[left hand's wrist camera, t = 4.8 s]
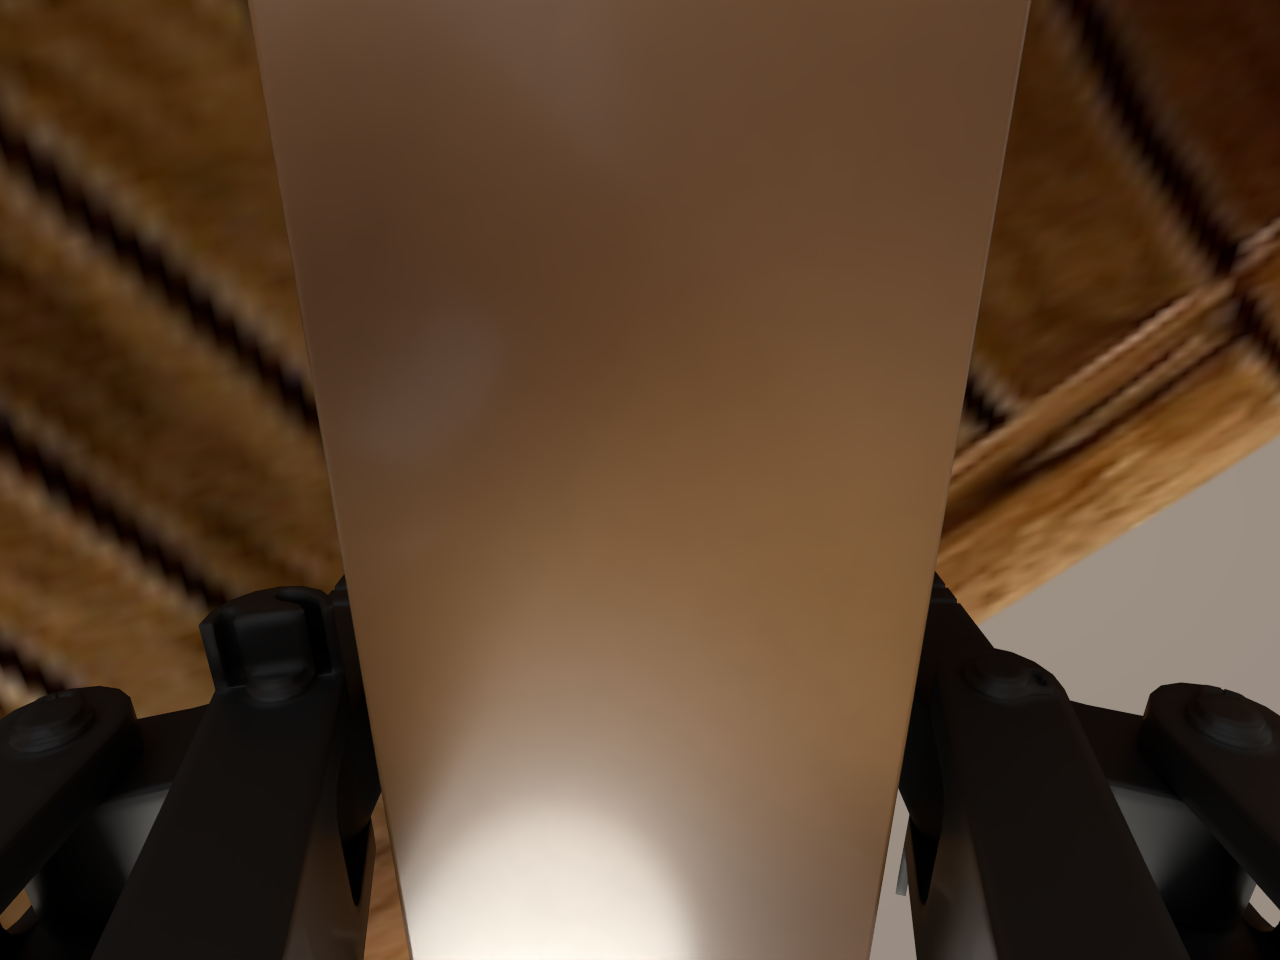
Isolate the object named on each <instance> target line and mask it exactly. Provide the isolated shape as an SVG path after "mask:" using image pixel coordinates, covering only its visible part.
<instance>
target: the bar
mask: <svg viewBox="0 0 1280 960" xmlns="http://www.w3.org/2000/svg"><path fill="white" fill-rule="evenodd" d="M1030 4H1031V0H248V5H249V11H250V17H251V23H252V29H253V35H254V41H255V47H256V53H257V59H258V64H259V70H260V76H261V82H262V88H263V94H264V100H265V106H266V112H267V118H268V123H269V129H270V135H271V141H272V147H273V153H274V159H275V165H276V171H277V177H278V183H279V188H280V194H281V200H282V206H283V212H284V218H285V224H286V230H287V236H288V242H289V248H290V253H291V259H292V265H293V271H294V277H295V283H296V289H297V295H298V301H299V307H300V313H301V318H302V324H303V330H304V336H305V342H306V348H307V354H308V360H309V366H310V372H311V378H312V383H313V389H314V395H315V401H316V407H317V413H318V419H319V425H320V431H321V437H322V443H323V448H324V454H325V460H326V466H327V472H328V478H329V484H330V490H331V496H332V502H333V508H334V513H335V519H336V525H337V531H338V537H339V543H340V549H341V555H342V561H343V567H344V573H345V578H346V584H347V590H348V596H349V602H350V608H351V614H352V620H353V626H354V632H355V638H356V643H357V649H358V655H359V661H360V667H361V673H362V679H363V685H364V691H365V697H366V703H367V708H368V714H369V720H370V726H371V732H372V738H373V744H374V750H375V756H376V762H377V767H378V773H379V779H380V785H381V791H382V797H383V803H384V809H385V815H386V821H387V827H388V832H389V838H390V844H391V850H392V856H393V862H394V868H395V874H396V880H397V886H398V892H399V897H400V903H401V909H402V915H403V921H404V927H405V933H406V939H407V945H408V951H409V957H410V960H869V957H870V952H871V946H872V940H873V934H874V928H875V922H876V916H877V910H878V904H879V898H880V892H881V886H882V881H883V875H884V869H885V863H886V857H887V851H888V845H889V839H890V833H891V827H892V821H893V815H894V809H895V803H896V797H897V792H898V786H899V780H900V774H901V768H902V762H903V756H904V750H905V744H906V738H907V732H908V727H909V721H910V715H911V709H912V703H913V697H914V691H915V685H916V679H917V673H918V667H919V661H920V655H921V650H922V644H923V638H924V632H925V626H926V620H927V614H928V608H929V602H930V596H931V590H932V584H933V579H934V573H935V567H936V561H937V555H938V549H939V543H940V537H941V531H942V525H943V519H944V513H945V507H946V502H947V496H948V490H949V484H950V478H951V472H952V466H953V460H954V454H955V448H956V442H957V436H958V430H959V425H960V419H961V413H962V407H963V401H964V395H965V389H966V383H967V377H968V371H969V365H970V359H971V353H972V348H973V342H974V336H975V330H976V324H977V318H978V312H979V306H980V300H981V294H982V288H983V282H984V276H985V271H986V265H987V259H988V253H989V247H990V241H991V235H992V229H993V223H994V217H995V211H996V205H997V199H998V194H999V188H1000V182H1001V176H1002V170H1003V164H1004V158H1005V152H1006V146H1007V140H1008V134H1009V128H1010V122H1011V117H1012V111H1013V105H1014V99H1015V93H1016V87H1017V81H1018V75H1019V69H1020V63H1021V57H1022V51H1023V46H1024V40H1025V34H1026V28H1027V22H1028V16H1029V10H1030Z"/></svg>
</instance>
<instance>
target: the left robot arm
mask: <svg viewBox="0 0 1280 960" xmlns="http://www.w3.org/2000/svg"><path fill="white" fill-rule="evenodd" d="M199 628H200V632H201V636H202V640H203V644H204V648H205V652H206V655H207V659H208V663H209V667H210V671H211V675H212V678H213V682H214V686H215V693H214V695H213V697H212V699H211V701H210V703H209V704H207V705H203V706H199V707H195V708H191V709H186V710H181V711H176V712H171V713H166V714H161V715H156V716H151V717H146V718H141V719H137V717H136V714H135V711H134V708H133V704H132V701H131V698H130V697H129V696H128V695H127V694H125V693H124V692H123V691H121V690H120V689H117V688H110V687H103V686H94V687H85V688H74V689H68V690H64V691H60V692H59V693H56V692H55V693H52V694H49V695H46V696H43V697H41V698H39V699H37V700H36V701H34V702H32V703H30V704H27V705H25V706H23V707H21V708H19V709H16V710H14V711H13V712H11V713H10V714H8V715H7V716H5V717H4V718H2V719H1V720H0V915H1V914H2V912H3V911H4V910H5V909H6V908H7V907H8V906H9V904H10V903H11V902H12V901H13V900H14V899H15V898H16V897H17V895H18V894H19V893H20V892H21V891H22V890H23V889H24V888H25V890H26V893H27V895H28V897H29V900H30V902H31V904H32V905H31V906H30V907H29V909H28V910H27V911H26V912H25V913H24V915H23V916H22V917H21V918H20V919H19V920H18V921H17V922H16V923H15V924H13V925H12V926H11V927H10V928H9V929H7V930H5V929H4V928H3V927H2V925H1V923H0V960H363V958H364V950H365V941H366V932H367V923H368V914H369V905H370V896H371V887H372V878H373V869H374V861H375V852H376V844H375V838H374V831H373V826H372V820H371V814H372V812H373V810H374V807H375V805H376V803H377V800H378V798H379V796H380V793H381V785H380V779H379V773H378V767H377V762H376V756H375V750H374V744H373V738H372V732H371V726H370V720H369V714H368V708H367V703H366V697H365V691H364V685H363V679H362V673H361V667H360V661H359V655H358V649H357V643H356V638H355V632H354V626H353V620H352V614H351V608H350V602H349V596H348V590H347V584H346V578H345V574H344V575H343V577H342V578H341V579H340V581H339V582H338V583H337V584H336V586H335V590H332V591H331V592H330V594H329V595H327V594H326V593H324V592H323V591H322V590H318V589H314V588H309V587H305V586H281V587H275V588H270V589H265V590H259V591H255V592H252V593H249V594H246V595H244V596H241V597H238V598H235V599H233V600H230V601H229V602H227V603H225V604H224V605H222V606H220V607H218V608H217V609H215V610H213V611H212V612H210V614H209V615H208V616H207V617H206V618H205V619H204V620H203V621H202V622H201V623H200V624H199ZM898 788H899V791H900V793H901V795H902V798H903V800H904V802H905V805H906V807H907V809H908V812H909V814H910V815H909V820H908V826H907V831H906V837H905V842H904V848H903V854H902V859H901V865H900V871H899V876H898V882H897V889H896V894H898V895H903V896H906V891H907V885H909V894H910V903H911V912H912V921H913V930H914V939H915V948H916V956H917V960H1280V922H1279V924H1278V925H1277V926H1276V927H1275V928H1274V927H1272V926H1271V925H1270V924H1269V923H1268V922H1267V921H1266V920H1265V919H1264V918H1263V917H1261V915H1260V914H1259V913H1258V912H1257V911H1256V910H1255V908H1254V907H1253V906H1252V905H1251V904H1250V903H1249V900H1250V898H1251V896H1252V893H1253V891H1254V889H1255V886H1256V884H1257V885H1258V886H1259V887H1260V888H1261V889H1262V890H1263V892H1264V893H1265V894H1266V895H1267V896H1268V897H1269V898H1270V899H1271V901H1272V902H1273V903H1274V904H1275V905H1276V906H1277V907H1278V908H1279V910H1280V716H1279V715H1278V714H1276V713H1275V712H1273V711H1272V710H1270V709H1269V708H1267V707H1265V706H1263V705H1261V704H1259V703H1257V702H1254V701H1252V700H1250V699H1248V698H1245V697H1244V696H1243V695H1241V694H1239V693H1236V692H1233V691H1230V690H1226V689H1224V690H1222V689H1221V688H1219V687H1214V686H1210V685H1199V684H1190V683H1175V684H1168V685H1162V686H1160V687H1159V688H1157V689H1156V690H1155V691H1153V692H1152V693H1151V694H1150V696H1149V699H1148V702H1147V705H1146V709H1145V712H1144V715H1143V716H1141V715H1135V714H1130V713H1125V712H1120V711H1115V710H1110V709H1105V708H1100V707H1095V706H1090V705H1086V704H1082V703H1078V702H1074V701H1070V700H1069V698H1068V696H1067V693H1066V691H1065V689H1064V688H1063V687H1062V685H1061V684H1060V683H1059V682H1058V680H1057V679H1056V678H1055V676H1054V675H1053V674H1051V673H1050V672H1048V671H1047V670H1045V669H1044V668H1043V667H1041V666H1040V665H1038V664H1037V663H1035V662H1034V661H1031V660H1029V659H1027V658H1024V657H1022V656H1020V655H1017V654H1015V653H1012V652H1009V651H1005V650H1000V649H996V648H994V647H993V646H992V645H991V643H990V642H989V641H988V639H987V638H986V637H985V636H984V634H983V633H982V632H981V630H980V629H979V628H978V626H977V625H976V624H975V623H974V621H973V620H972V619H971V617H970V616H969V615H968V613H967V612H966V611H965V609H964V608H963V607H962V606H961V604H960V603H957V599H956V598H955V596H954V595H953V594H952V592H951V591H950V590H949V589H948V588H945V583H944V582H943V581H942V579H941V578H940V577H939V575H938V574H937V573H936V572H935V573H934V579H933V584H932V590H931V596H930V602H929V608H928V614H927V620H926V626H925V632H924V638H923V644H922V650H921V655H920V661H919V667H918V673H917V679H916V685H915V691H914V697H913V703H912V709H911V715H910V721H909V727H908V732H907V738H906V744H905V750H904V756H903V762H902V768H901V774H900V780H899V786H898Z"/></svg>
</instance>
